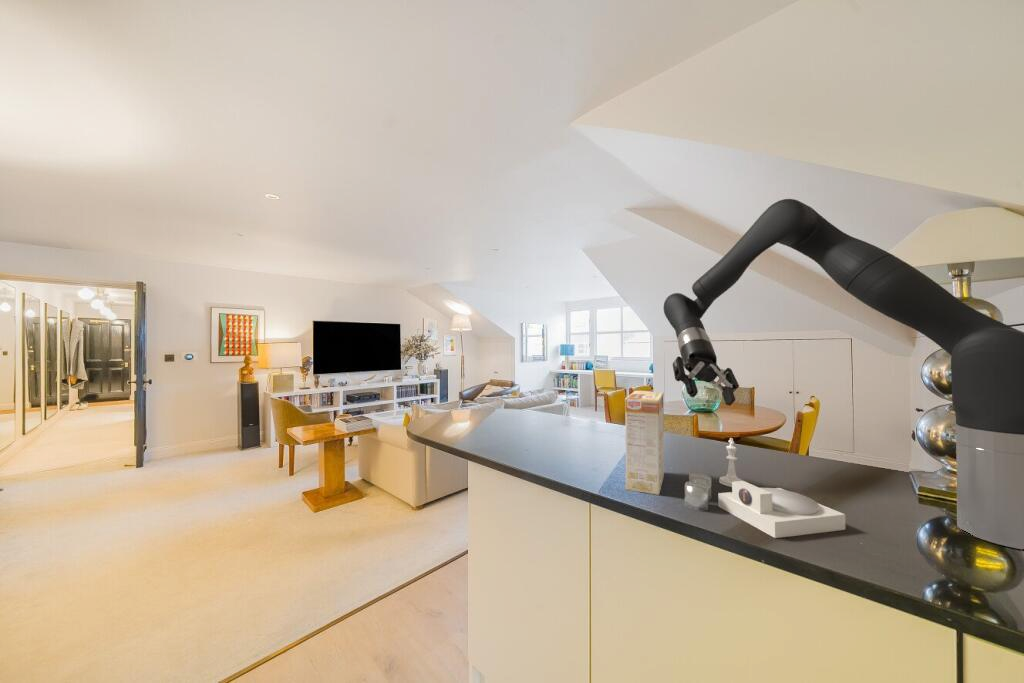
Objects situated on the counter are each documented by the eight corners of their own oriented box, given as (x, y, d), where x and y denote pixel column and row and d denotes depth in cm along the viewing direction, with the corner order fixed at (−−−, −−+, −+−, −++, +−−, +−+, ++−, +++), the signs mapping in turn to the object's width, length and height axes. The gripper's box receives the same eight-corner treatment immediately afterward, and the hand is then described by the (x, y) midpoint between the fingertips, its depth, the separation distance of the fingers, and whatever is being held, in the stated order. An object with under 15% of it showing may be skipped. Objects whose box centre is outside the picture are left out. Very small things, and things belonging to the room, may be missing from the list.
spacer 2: (698, 501, 74) (698, 480, 74) (713, 510, 70) (713, 488, 70) (680, 503, 73) (680, 482, 73) (694, 511, 69) (694, 490, 69)
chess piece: (737, 479, 86) (737, 435, 86) (749, 488, 81) (748, 441, 81) (715, 479, 86) (714, 435, 86) (725, 487, 81) (724, 440, 81)
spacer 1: (701, 492, 78) (701, 472, 78) (715, 499, 74) (715, 479, 75) (684, 493, 78) (684, 474, 78) (698, 501, 74) (698, 480, 74)
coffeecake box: (634, 469, 93) (634, 390, 93) (665, 473, 90) (665, 391, 90) (623, 489, 79) (623, 397, 80) (659, 495, 76) (659, 399, 77)
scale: (779, 500, 74) (779, 471, 74) (845, 529, 62) (845, 495, 62) (718, 506, 71) (718, 476, 71) (774, 538, 59) (774, 501, 59)
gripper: (676, 332, 93) (690, 381, 81) (731, 344, 93) (753, 396, 81) (662, 352, 98) (673, 402, 86) (714, 364, 98) (733, 415, 87)
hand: (712, 399), depth 84 cm, fingers open, 8 cm apart
